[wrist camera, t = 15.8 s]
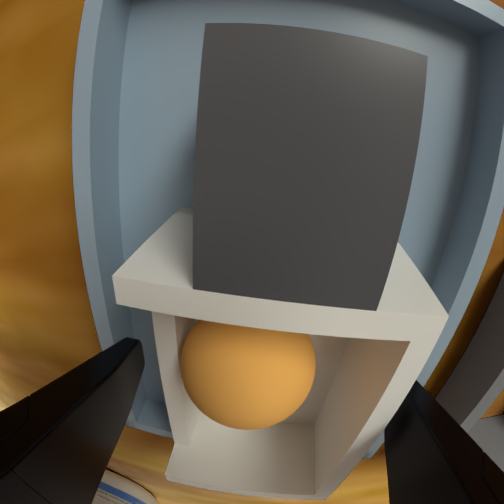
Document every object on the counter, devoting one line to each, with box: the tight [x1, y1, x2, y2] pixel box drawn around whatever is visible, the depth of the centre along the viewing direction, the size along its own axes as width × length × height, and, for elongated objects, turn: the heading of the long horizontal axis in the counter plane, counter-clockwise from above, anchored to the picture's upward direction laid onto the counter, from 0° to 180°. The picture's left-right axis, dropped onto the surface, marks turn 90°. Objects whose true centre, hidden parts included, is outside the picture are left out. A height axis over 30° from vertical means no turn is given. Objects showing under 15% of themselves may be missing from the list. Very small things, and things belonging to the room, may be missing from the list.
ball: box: [180, 320, 316, 430], centre depth 8 cm, size 4×4×4 cm
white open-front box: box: [112, 23, 449, 500], centre depth 8 cm, size 13×6×4 cm, turn 175°
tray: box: [72, 0, 504, 458], centre depth 9 cm, size 17×11×2 cm, turn 174°
